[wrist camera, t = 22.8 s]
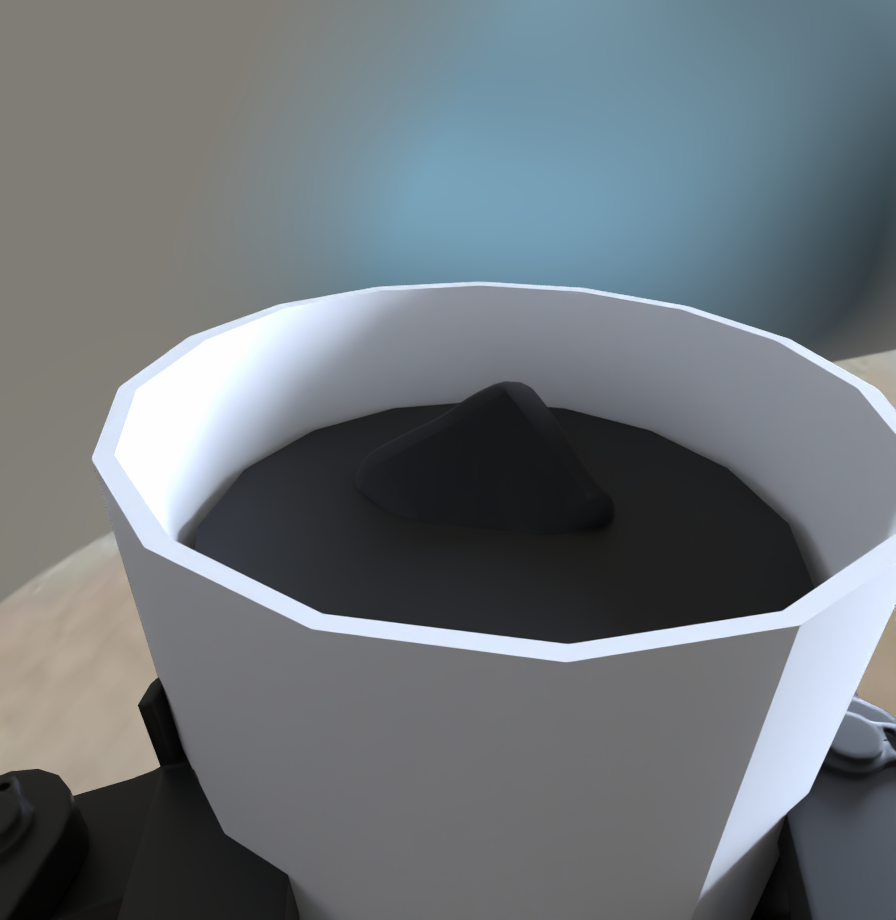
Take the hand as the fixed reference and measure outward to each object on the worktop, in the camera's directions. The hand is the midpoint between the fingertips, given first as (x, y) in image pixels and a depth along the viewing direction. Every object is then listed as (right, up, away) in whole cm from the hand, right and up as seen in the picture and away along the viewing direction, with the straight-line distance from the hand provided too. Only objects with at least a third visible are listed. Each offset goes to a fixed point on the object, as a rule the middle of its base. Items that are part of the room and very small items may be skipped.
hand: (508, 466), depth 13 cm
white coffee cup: (-1, -8, -2) cm, 8 cm away
